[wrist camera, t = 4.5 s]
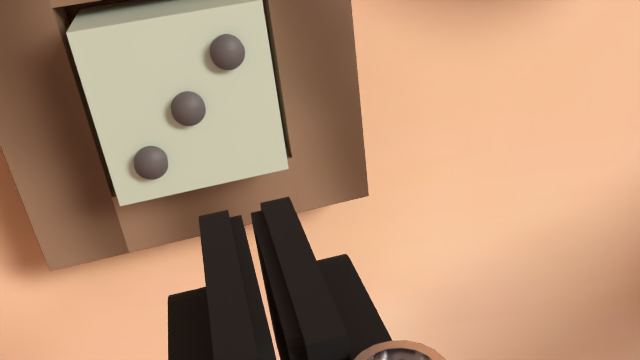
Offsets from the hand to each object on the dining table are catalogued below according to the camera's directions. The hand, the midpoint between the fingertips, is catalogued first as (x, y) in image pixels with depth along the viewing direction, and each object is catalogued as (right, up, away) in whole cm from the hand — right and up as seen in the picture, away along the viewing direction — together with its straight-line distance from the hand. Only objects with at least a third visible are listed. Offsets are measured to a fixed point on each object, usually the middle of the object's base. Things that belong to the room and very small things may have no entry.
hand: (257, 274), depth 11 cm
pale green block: (-4, +6, +12) cm, 15 cm away
